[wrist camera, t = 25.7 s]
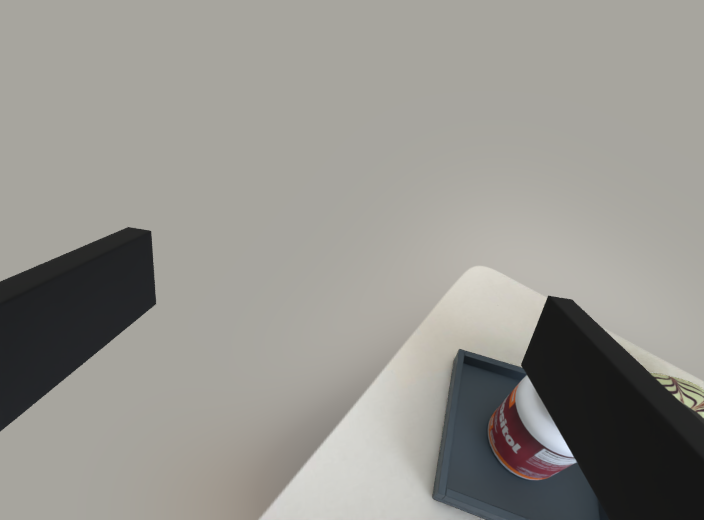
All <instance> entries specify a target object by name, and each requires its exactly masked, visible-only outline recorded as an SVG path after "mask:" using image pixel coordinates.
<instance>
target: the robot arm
mask: <svg viewBox="0 0 704 520" xmlns="http://www.w3.org/2000/svg"><path fill="white" fill-rule="evenodd" d="M155 304H156V296H155V281H154V266H153V253H152V237H151V231H149V230H142V229H136V228H130V227H128V228H125V229H123V230H121V231H118V232H116V233H114V234H111V235H109V236H107V237H104V238H102V239H99V240H97V241H95V242H92V243H90V244H88V245H85V246H83V247H81V248H78V249H76V250H74V251H71V252H69V253H66V254H64V255H62V256H60V257H57V258H55V259H52V260H50V261H48V262H45V263H43V264H41V265H38V266H36V267H34V268H31V269H29V270H27V271H24V272H22V273H19V274H17V275H15V276H12V277H10V278H8V279H5V280H3V281H1V282H0V431H1V430H3V429H4V428H5V427H6V426H8V425H9V424H10V423H11V422H12V421H14V420H15V419H16V418H17V417H18V416H20V415H21V414H22V413H23V412H25V411H26V410H27V409H28V408H30V407H31V406H32V405H33V404H34V403H36V402H37V401H38V400H39V399H41V398H42V397H43V396H44V395H45V394H47V393H48V392H49V391H50V390H52V389H53V388H54V387H55V386H56V385H58V384H59V383H60V382H61V381H63V380H64V379H65V378H66V377H67V376H69V375H70V374H71V373H72V372H73V371H75V370H76V369H77V368H78V367H80V366H81V365H82V364H83V363H85V362H86V361H87V360H88V359H89V358H90V357H92V356H93V355H94V354H96V353H97V352H98V351H99V350H100V349H102V348H103V347H104V346H105V345H107V344H108V343H109V342H110V341H111V340H113V339H114V338H115V337H116V336H117V335H119V334H120V333H121V332H122V331H123V330H125V329H126V328H127V327H128V326H130V325H131V324H132V323H133V322H135V321H136V320H137V319H138V318H139V317H141V316H142V315H143V314H144V313H146V312H147V311H148V310H149V309H150V308H152V307H153V306H154V305H155ZM521 365H522V367H523V369H524V371H525V372H526V374H527V376H528V378H529V379H530V381H531V383H532V385H533V386H534V388H535V390H536V392H537V393H538V395H539V397H540V399H541V400H542V402H543V404H544V406H545V407H546V409H547V411H548V413H549V414H550V416H551V418H552V420H553V421H554V423H555V425H556V427H557V428H558V430H559V432H560V434H561V435H562V437H563V439H564V441H565V442H566V444H567V446H568V448H569V449H570V451H571V453H572V455H573V456H574V458H575V460H576V462H577V463H578V465H579V467H580V469H581V470H582V472H583V474H584V476H585V477H586V479H587V481H588V483H589V484H590V486H591V488H592V490H593V491H594V493H595V495H596V497H597V498H598V500H599V502H600V504H601V505H602V507H603V509H604V511H605V512H606V514H607V516H608V518H609V519H610V520H704V418H703V417H702V416H701V415H700V414H698V413H697V412H695V411H694V410H692V409H691V408H690V407H688V406H687V405H685V404H684V403H682V402H681V401H679V400H678V399H677V398H676V397H675V396H674V395H673V394H672V393H671V392H669V391H668V390H667V389H666V388H665V387H664V386H663V385H662V384H661V383H660V382H659V381H658V380H657V379H656V378H655V377H654V376H652V375H651V374H650V373H649V372H648V371H647V370H646V369H645V368H644V367H643V366H642V365H641V364H640V363H639V362H638V361H637V360H636V359H634V358H633V357H632V356H631V355H630V354H629V353H628V352H627V351H626V350H625V349H624V348H623V347H622V346H621V345H620V344H619V343H617V342H616V341H615V340H614V339H613V338H612V337H611V336H610V335H609V334H608V333H607V332H606V331H605V330H604V329H603V328H602V327H600V326H599V325H598V324H597V323H596V322H595V321H594V320H593V319H592V318H591V317H590V316H589V315H587V313H586V312H585V311H583V310H582V309H581V308H580V307H579V306H578V305H577V304H576V303H575V302H574V301H573V300H571V299H565V298H559V297H552V296H548V298H547V300H546V303H545V305H544V308H543V311H542V313H541V316H540V318H539V321H538V323H537V326H536V328H535V331H534V333H533V336H532V338H531V341H530V344H529V346H528V349H527V351H526V354H525V356H524V359H523V361H522V364H521Z"/></svg>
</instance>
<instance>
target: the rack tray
mask: <svg viewBox="0 0 704 520" xmlns="http://www.w3.org/2000/svg"><path fill="white" fill-rule="evenodd" d="M526 375H527V374H526V372H525V371H524V369H523V368H521V367H518V366H515V365H511V364H508V363H505V362H501V361H498V360H495V359H492V358H488V357H485V356H482V355H478V354H475V353H472V352H468V351H465V350H462V349H459V351H458V353H457V355H456V357H455V359H454V363H453V370H452V376H451V383H450V389H449V395H448V402H447V408H446V414H445V421H444V427H443V433H442V440H441V446H440V453H439V459H438V465H437V472H436V478H435V484H434V491H433V499H435V500H438V501H440V502H443V503H445V504H448V505H450V506H453V507H455V508H458V509H461V510H463V511H466V512H468V513H471V514H473V515H476V516H479V517H481V518H484V519H486V520H610V519H609V518H608V516H607V514H606V512H605V511H604V509H603V507H602V505H601V504H600V502H599V500H598V498H597V497H596V495H595V493H594V491H593V490H592V488H591V486H590V484H589V483H588V481H587V479H586V477H585V476H584V474H583V472H582V470H581V469H580V467H579V465H578V463H577V462H576V463H574V464H572V465H571V466H569V467H567V468H565V469H563V470H562V471H560V472H558V473H556V474H554V475H552V476H551V477H549V478H546V479H542V480H528V479H524V478H521V477H519V476H517V475H515V474H513V473H512V472H510V471H509V470H508V469H506V468H505V467H504V466H503V465H502V464H501V463H500V461H499V460H498V459H497V457H496V456H495V454H494V452H493V450H492V448H491V446H490V443H489V439H488V424H489V420H490V418H491V416H492V415H493V413H494V412H495V411H496V409H497V408H498V407H499V406H500V405H501V404H502V403H503V401H504V400H505V399H506V398H507V397H508V395H509V394H510V393H511V392H512V391H513V390H514V388H515V387H516V386H517V385H518V384H519V383H520V382H521V380H522V379H523V378H524V377H525V376H526Z"/></svg>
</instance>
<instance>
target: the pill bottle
mask: <svg viewBox="0 0 704 520" xmlns="http://www.w3.org/2000/svg"><path fill="white" fill-rule="evenodd" d="M488 439H489V443H490V446H491V448H492V450H493V452H494V454H495V456H496V457H497V459H498V460H499V461H500V463H501V464H502V465H503V466H504V467H505V468H506V469H508V470H509V471H510V472H512V473H513V474H515V475H517V476H519V477H521V478H524V479H528V480H542V479H546V478H549V477H551V476H552V475H554V474H556V473H558V472H560V471H562V470H563V469H565V468H567V467H569V466H571V465H572V464H574V463H576V460H575V458H574V456H573V455H572V453H571V451H570V449H569V448H568V446H567V444H566V442H565V441H564V439H563V437H562V435H561V434H560V432H559V430H558V428H557V427H556V425H555V423H554V421H553V420H552V418H551V416H550V414H549V413H548V411H547V409H546V407H545V406H544V404H543V402H542V400H541V399H540V397H539V395H538V393H537V392H536V390H535V388H534V386H533V385H532V383H531V381H530V379H529V378H528V376H527V375H526V376H525V377H524V378H523V379H522V380H521V382H520V383H519V384H518V385H517V386H516V387H515V388H514V390H513V391H512V392H511V393H510V394H509V395H508V397H507V398H506V399H505V400H504V401H503V403H502V404H501V405H500V406H499V407H498V408H497V409H496V411H495V412H494V413H493V415H492V416H491V418H490V420H489V424H488Z"/></svg>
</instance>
